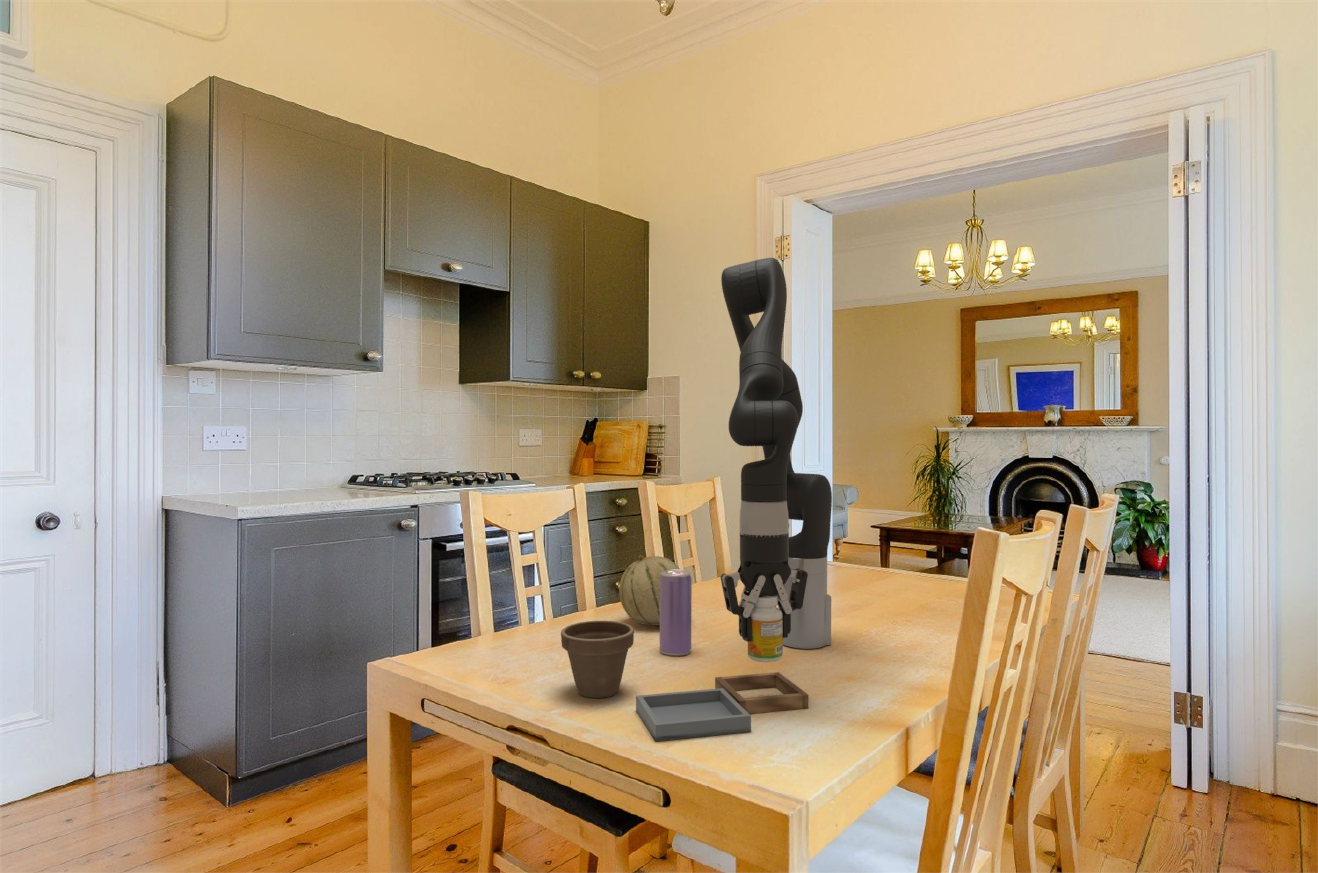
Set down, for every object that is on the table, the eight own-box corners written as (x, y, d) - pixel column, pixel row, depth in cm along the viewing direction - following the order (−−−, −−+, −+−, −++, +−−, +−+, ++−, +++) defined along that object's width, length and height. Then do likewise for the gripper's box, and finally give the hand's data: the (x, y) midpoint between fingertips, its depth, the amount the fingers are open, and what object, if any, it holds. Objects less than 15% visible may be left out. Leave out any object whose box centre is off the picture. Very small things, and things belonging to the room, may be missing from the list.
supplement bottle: (744, 653, 120) (743, 591, 120) (777, 651, 121) (777, 590, 120) (751, 663, 115) (751, 599, 115) (786, 662, 115) (786, 598, 115)
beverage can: (688, 657, 139) (688, 576, 139) (656, 655, 140) (656, 574, 140) (693, 648, 145) (694, 570, 144) (662, 646, 146) (663, 568, 146)
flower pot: (572, 709, 113) (573, 641, 113) (552, 685, 123) (552, 623, 123) (644, 699, 117) (644, 634, 117) (618, 677, 128) (619, 617, 128)
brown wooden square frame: (778, 684, 124) (778, 672, 124) (808, 708, 114) (808, 694, 114) (715, 689, 122) (715, 677, 122) (739, 714, 111) (739, 701, 111)
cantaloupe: (701, 626, 161) (701, 556, 161) (643, 637, 153) (643, 562, 152) (661, 612, 173) (662, 547, 173) (606, 621, 165) (606, 552, 165)
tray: (722, 702, 116) (722, 688, 116) (750, 731, 105) (751, 715, 105) (636, 710, 112) (636, 695, 112) (655, 741, 101) (655, 725, 101)
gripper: (795, 524, 123) (796, 628, 123) (712, 528, 119) (712, 636, 119) (817, 530, 116) (818, 641, 116) (729, 535, 112) (730, 649, 112)
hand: (764, 638), depth 118 cm, fingers closed on supplement bottle, 5 cm apart
